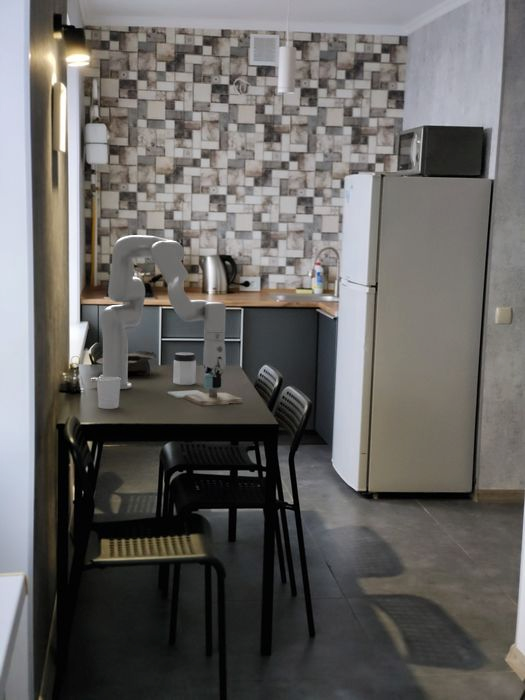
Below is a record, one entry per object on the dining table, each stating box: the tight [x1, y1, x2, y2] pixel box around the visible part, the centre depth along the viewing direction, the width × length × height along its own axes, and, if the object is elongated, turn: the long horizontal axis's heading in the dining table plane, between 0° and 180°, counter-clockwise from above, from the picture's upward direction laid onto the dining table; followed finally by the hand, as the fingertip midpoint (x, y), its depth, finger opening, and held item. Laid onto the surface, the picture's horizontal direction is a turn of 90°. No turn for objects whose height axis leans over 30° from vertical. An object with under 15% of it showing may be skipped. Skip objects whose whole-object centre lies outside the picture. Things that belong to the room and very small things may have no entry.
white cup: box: [96, 376, 121, 410], centre depth 316 cm, size 8×8×10 cm
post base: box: [184, 389, 243, 407], centre depth 334 cm, size 16×14×8 cm
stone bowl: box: [96, 350, 158, 376], centre depth 389 cm, size 25×25×9 cm
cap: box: [203, 372, 223, 390], centre depth 333 cm, size 6×6×6 cm
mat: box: [167, 389, 205, 399], centre depth 344 cm, size 12×10×1 cm
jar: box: [172, 351, 197, 386], centre depth 369 cm, size 9×8×12 cm
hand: (212, 385), depth 333 cm, fingers closed on cap, 6 cm apart
